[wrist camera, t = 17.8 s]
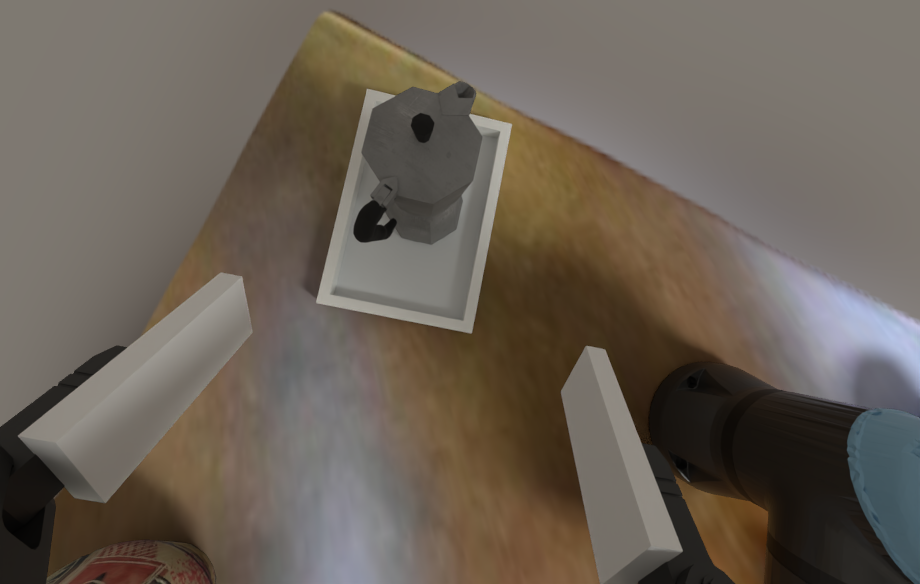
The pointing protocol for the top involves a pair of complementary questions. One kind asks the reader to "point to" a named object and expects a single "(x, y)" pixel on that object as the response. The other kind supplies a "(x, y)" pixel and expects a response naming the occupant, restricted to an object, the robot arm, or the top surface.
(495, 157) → the docking tray
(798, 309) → the top surface
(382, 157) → the coffeepot
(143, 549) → the ceramic jug
